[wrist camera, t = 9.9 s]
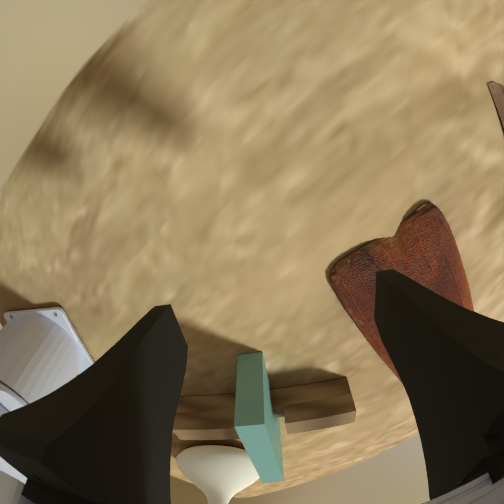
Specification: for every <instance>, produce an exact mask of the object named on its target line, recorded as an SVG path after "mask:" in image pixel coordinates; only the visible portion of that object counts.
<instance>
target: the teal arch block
mask: <svg viewBox="0 0 504 504" xmlns="http://www.w3.org/2000/svg"><path fill="white" fill-rule="evenodd" d="M234 427H235V430H236V432H237V434H238V436H239V438H240V440H241V442H242V444H243V446H244V448H245V450H246V452H247V454H248V456H249V458H250V460H251V462H252V463H253V465H254V467H255V469H256V471H257V473H258V475H259V477H260V479H261V480H262V482H263V483H267V482H278V481H284V478H283V462H282V447H281V433H280V424H279V419H278V418H275V416H274V412H273V408H272V404H271V400H270V384H269V378H268V374H267V370H266V366H265V362H264V358H263V353H262V352H258V353H250V354H242V355H238V360H237V379H236V398H235V419H234Z"/></svg>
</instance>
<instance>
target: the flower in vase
mask: <svg viewBox="0 0 504 504" xmlns="http://www.w3.org/2000/svg"><path fill="white" fill-rule="evenodd" d="M176 462H177V466H178V468H179V469H180V471H181V472H182V473H183V474H184V475H185V476H186V477H187V478H188V479H189V480H190V481H191V482H192V483H194V484H195V485H196V486H197V487H198V488H200V489H201V490H202V491H203V492H204V493H205V495H206V497H207V499H208V504H228V503H229V501H230V499H231V497H233V496H234V495H235V494H236V493H238V492H239V491H241V490H243V489H244V488H246V487H248V486H249V485H251V484H252V483H254V482H255V481H256V480H258V479H259V478H260V477H259V475H258V473H257V471H256V469H255V467H254V465H253V463H252V462H251V460H250V458H249V456H248V454H247V452H246V450H243V449H239V448H235V447H229V446H219V445H203V446H195V447H190V448H187V449H185V450H183V451H182V452H181V453H180V454H178V456H177V457H176Z"/></svg>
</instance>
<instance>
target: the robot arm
mask: <svg viewBox="0 0 504 504" xmlns="http://www.w3.org/2000/svg"><path fill="white" fill-rule="evenodd" d="M4 318H5V320H6V321H7V323H6V324H5V325H4V327H3V328H2V329H1V330H0V504H171V503H170V458H171V443H172V432H173V426H174V420H175V415H176V411H177V407H178V402H179V398H180V394H181V389H182V385H183V380H184V376H185V371H186V362H187V350H188V346H187V344H186V341H185V339H184V337H183V334H182V332H181V329H180V327H179V324H178V322H177V319H176V317H175V314H174V312H173V309H172V307H171V304H170V305H161V306H155V307H154V308H152V309H151V310H150V311H149V312H148V313H147V314H146V315H145V316H144V317H143V318H142V319H141V320H139V321H138V322H137V323H136V324H135V325H134V326H133V327H132V328H131V329H130V330H129V331H128V332H127V333H126V334H125V335H124V336H123V337H122V338H121V339H120V340H119V341H118V342H117V343H116V344H115V345H114V346H113V347H111V348H110V349H109V350H108V351H107V352H106V353H105V354H104V355H103V356H102V357H101V358H99V359H98V360H97V361H96V362H95V363H94V361H93V360H92V358H91V357H90V355H89V353H88V352H87V350H86V348H85V347H84V345H83V343H82V342H81V340H80V338H79V337H78V335H77V333H76V332H75V330H74V328H73V326H72V324H71V323H70V321H69V319H68V317H67V315H66V313H65V312H64V310H63V309H62V308H61V307H51V308H41V309H30V310H20V311H8V312H5V313H4ZM374 320H375V323H376V326H377V329H378V332H379V334H380V337H381V340H382V342H383V344H384V347H385V349H386V351H387V353H388V355H389V357H390V359H391V361H392V363H393V365H394V367H395V369H396V371H397V373H398V375H399V377H400V379H401V381H402V383H403V385H404V387H405V390H406V392H407V395H408V397H409V400H410V403H411V406H412V409H413V413H414V416H415V419H416V423H417V427H418V430H419V434H420V438H421V442H422V448H423V453H424V458H425V463H426V470H427V477H428V484H429V497H430V501H428V502H425V503H423V504H504V322H501V321H497V320H494V319H491V318H489V317H486V316H483V315H481V314H479V313H476V312H474V311H471V310H469V309H467V308H464V307H462V306H460V305H458V304H456V303H454V302H452V301H450V300H448V299H446V298H444V297H442V296H441V295H439V294H437V293H435V292H433V291H431V290H430V289H428V288H426V287H424V286H423V285H421V284H419V283H417V282H416V281H414V280H412V279H411V278H409V277H407V276H405V275H403V274H402V273H400V272H398V271H396V270H394V269H388V270H383V271H378V272H376V291H375V309H374ZM76 374H79V375H78V376H76ZM75 376H76V377H75Z"/></svg>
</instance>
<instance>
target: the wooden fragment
mask: <svg viewBox="0 0 504 504" xmlns="http://www.w3.org/2000/svg"><path fill="white" fill-rule="evenodd" d="M487 85H488V87H489V89H490V92H491V94H492V97H493V100H494V102H495V105H496V107H497V110H498V112H499V115H500V118H501V121H502V124H503V128H504V86H503V85H501V84H498V83H495V82H489V83H488V82H487Z"/></svg>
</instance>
